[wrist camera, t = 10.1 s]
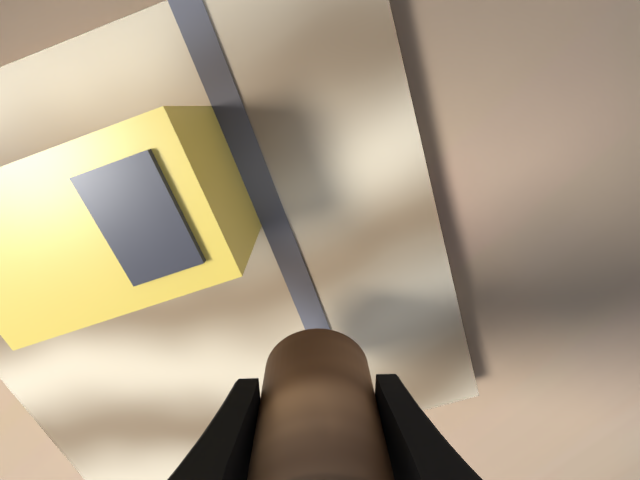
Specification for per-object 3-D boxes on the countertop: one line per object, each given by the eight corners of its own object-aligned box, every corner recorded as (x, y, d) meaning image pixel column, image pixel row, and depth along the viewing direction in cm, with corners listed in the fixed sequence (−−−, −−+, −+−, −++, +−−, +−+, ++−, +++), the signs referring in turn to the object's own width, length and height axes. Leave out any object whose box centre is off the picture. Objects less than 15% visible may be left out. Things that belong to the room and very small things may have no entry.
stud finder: (30, 173, 13) (-111, 207, 8) (212, 105, 12) (159, 106, 8) (98, 280, 14) (7, 355, 10) (262, 225, 14) (240, 280, 9)
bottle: (243, 367, 12) (189, 585, 7) (324, 308, 12) (340, 498, 6) (309, 426, 13) (310, 659, 8) (388, 376, 13) (452, 592, 7)
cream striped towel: (-152, 142, 13) (-198, 145, 12) (364, -64, 12) (370, -84, 10) (113, 477, 20) (100, 502, 19) (468, 377, 18) (480, 397, 17)
